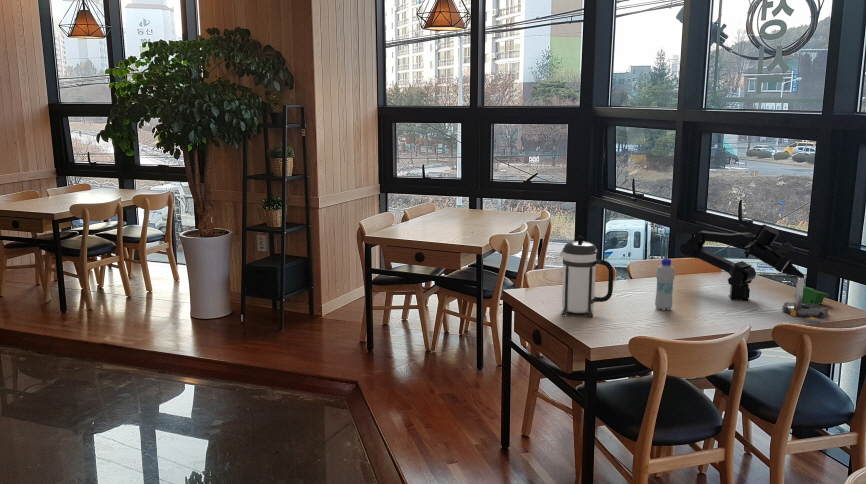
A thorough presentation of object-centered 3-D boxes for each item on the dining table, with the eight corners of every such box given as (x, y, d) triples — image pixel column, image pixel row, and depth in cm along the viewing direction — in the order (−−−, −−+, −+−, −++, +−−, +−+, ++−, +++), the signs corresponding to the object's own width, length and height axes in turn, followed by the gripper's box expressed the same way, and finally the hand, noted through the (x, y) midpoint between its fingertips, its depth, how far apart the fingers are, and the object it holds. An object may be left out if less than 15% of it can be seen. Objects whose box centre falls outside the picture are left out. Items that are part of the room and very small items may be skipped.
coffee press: (576, 321, 261) (579, 241, 255) (550, 310, 275) (552, 234, 269) (612, 315, 269) (616, 237, 263) (585, 304, 282) (588, 230, 276)
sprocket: (788, 317, 263) (791, 280, 261) (777, 305, 278) (781, 270, 275) (833, 319, 260) (837, 282, 257) (820, 307, 275) (824, 272, 272)
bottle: (672, 307, 277) (675, 257, 273) (672, 312, 271) (675, 261, 267) (654, 305, 280) (657, 256, 276) (653, 310, 273) (656, 260, 269)
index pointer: (807, 322, 258) (807, 319, 258) (805, 319, 261) (805, 316, 261) (819, 322, 257) (819, 320, 257) (817, 320, 261) (817, 317, 260)
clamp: (819, 315, 281) (833, 297, 276) (807, 312, 279) (820, 295, 275) (803, 296, 291) (816, 279, 286) (791, 294, 289) (804, 276, 285)
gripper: (776, 235, 268) (816, 257, 262) (777, 238, 285) (815, 259, 279) (759, 260, 271) (798, 283, 264) (761, 261, 287) (798, 282, 281)
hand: (803, 276), depth 272 cm, fingers open, 9 cm apart
